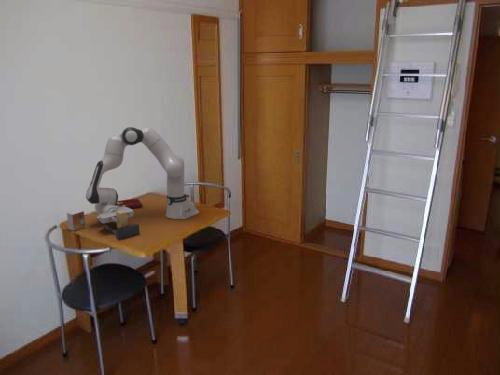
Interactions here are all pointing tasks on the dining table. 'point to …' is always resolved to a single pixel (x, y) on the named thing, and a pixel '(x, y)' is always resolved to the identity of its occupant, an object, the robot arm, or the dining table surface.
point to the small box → (76, 220)
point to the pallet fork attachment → (124, 231)
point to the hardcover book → (130, 203)
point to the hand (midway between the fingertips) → (122, 219)
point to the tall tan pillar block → (122, 218)
